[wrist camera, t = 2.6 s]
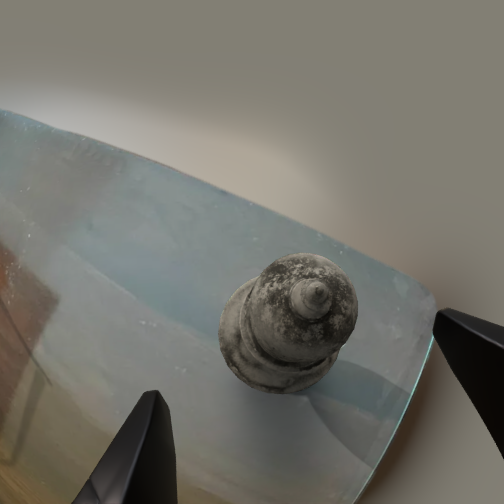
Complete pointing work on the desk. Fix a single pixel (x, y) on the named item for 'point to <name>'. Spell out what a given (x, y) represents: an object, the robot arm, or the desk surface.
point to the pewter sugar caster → (288, 323)
